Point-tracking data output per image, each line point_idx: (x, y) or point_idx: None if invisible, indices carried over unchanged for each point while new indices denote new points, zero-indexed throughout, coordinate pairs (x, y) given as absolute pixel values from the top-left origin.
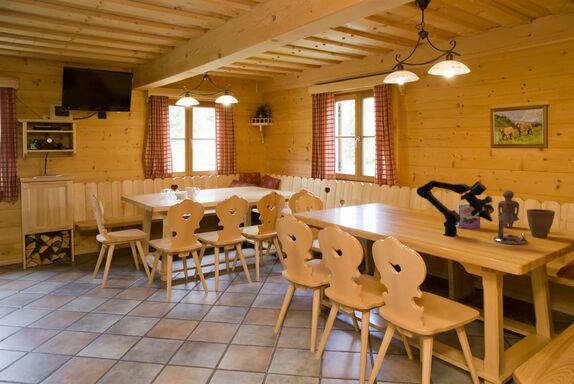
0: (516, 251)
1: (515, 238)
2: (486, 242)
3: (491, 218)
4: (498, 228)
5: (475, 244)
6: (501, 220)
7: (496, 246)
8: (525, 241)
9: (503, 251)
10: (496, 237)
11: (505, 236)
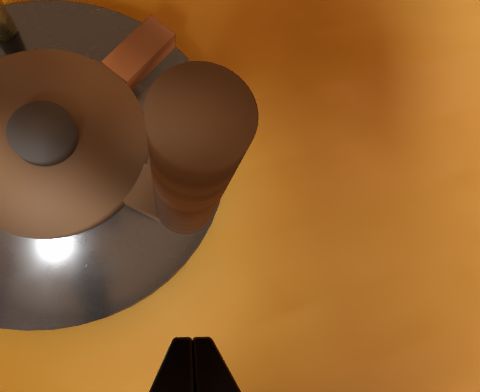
0: (409, 33)
1: (141, 63)
2: (263, 337)
3: (173, 380)
4: (208, 207)
5: (422, 388)
6: (224, 102)
7: (360, 198)
8: (86, 5)
9: (476, 106)
10: (59, 299)
11: (93, 176)
